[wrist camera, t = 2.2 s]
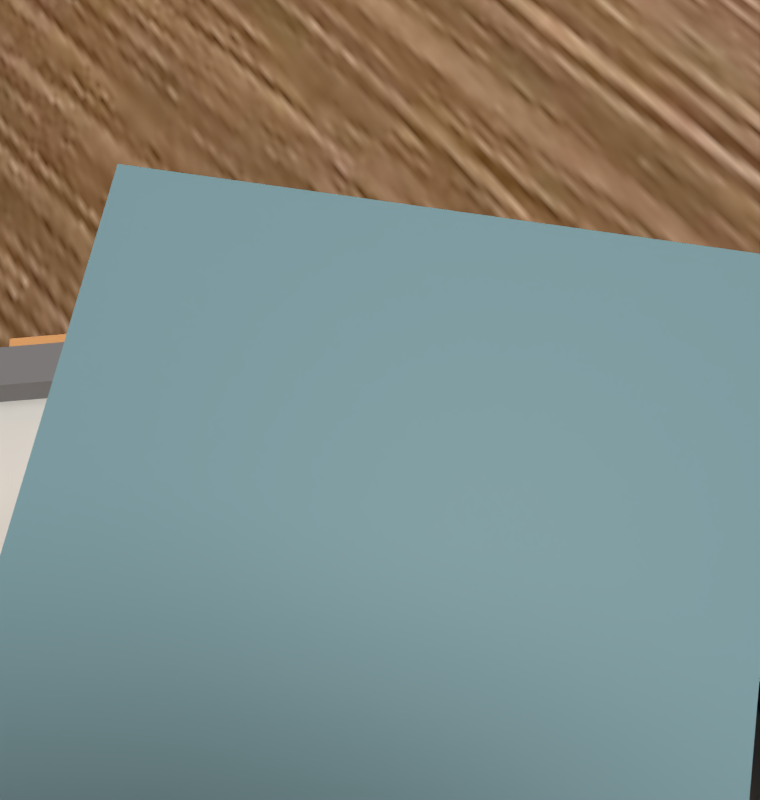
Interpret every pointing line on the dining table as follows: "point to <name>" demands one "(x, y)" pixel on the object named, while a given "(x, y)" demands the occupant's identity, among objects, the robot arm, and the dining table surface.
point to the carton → (386, 510)
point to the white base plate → (21, 414)
